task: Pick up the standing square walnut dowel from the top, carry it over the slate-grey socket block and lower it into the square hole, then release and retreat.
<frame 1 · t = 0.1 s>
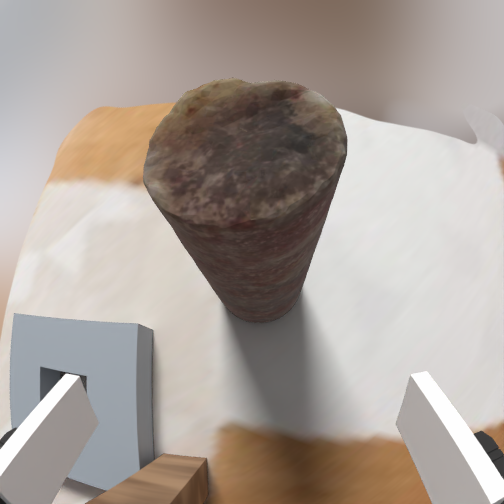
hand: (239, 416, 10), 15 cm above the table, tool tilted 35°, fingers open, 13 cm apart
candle: (259, 287, 28), on the table
peg: (185, 474, 21), on the table
socket: (81, 401, 24), on the table
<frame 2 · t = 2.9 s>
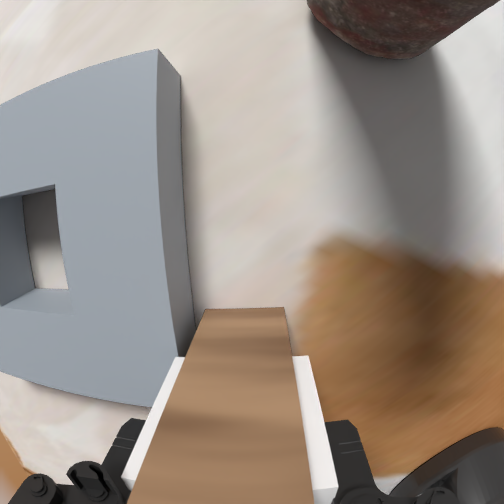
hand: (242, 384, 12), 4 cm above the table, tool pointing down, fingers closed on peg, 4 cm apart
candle: (366, 15, 12), on the table
peg: (246, 342, 16), on the table, touching gripper
socket: (59, 240, 15), on the table
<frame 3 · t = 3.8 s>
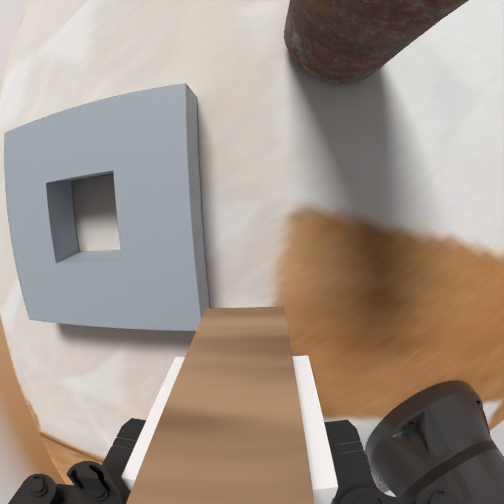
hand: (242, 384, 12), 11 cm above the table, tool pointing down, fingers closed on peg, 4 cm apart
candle: (330, 47, 18), on the table
peg: (246, 341, 16), point 7 cm above the table, touching gripper
socket: (103, 213, 21), on the table
when the fingers open (5 cm above the table, at t = 7.7 s): peg drops 1 cm, resting in socket.
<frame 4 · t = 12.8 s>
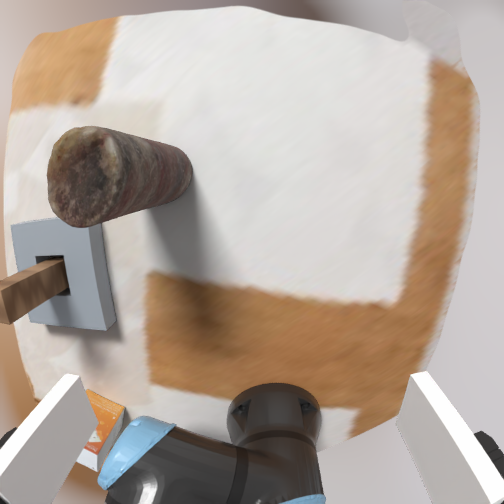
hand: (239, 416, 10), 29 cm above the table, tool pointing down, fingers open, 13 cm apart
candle: (165, 175, 36), on the table
peg: (65, 269, 40), resting in socket
small box: (105, 407, 46), on the table
socket: (65, 269, 40), on the table
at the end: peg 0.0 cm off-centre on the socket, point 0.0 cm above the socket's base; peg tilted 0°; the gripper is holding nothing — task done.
